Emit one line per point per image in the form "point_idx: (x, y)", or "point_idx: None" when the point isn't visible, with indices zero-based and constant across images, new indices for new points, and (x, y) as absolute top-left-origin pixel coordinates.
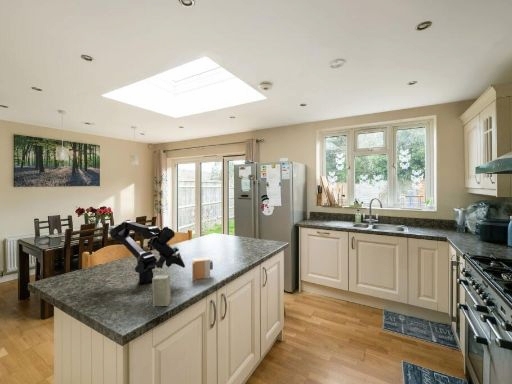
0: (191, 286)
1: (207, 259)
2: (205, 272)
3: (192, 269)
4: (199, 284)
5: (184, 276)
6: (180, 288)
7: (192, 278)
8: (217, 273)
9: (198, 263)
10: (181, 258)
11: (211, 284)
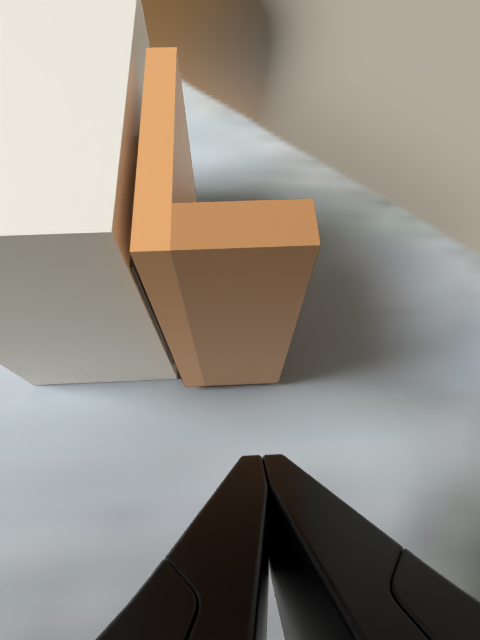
0: (406, 398)
1: (99, 12)
2: None
3: (210, 330)
4: (354, 312)
5: (8, 506)
6: (468, 540)
7: (213, 380)
8: None
9: (179, 174)
10: (253, 622)
11: (367, 209)
